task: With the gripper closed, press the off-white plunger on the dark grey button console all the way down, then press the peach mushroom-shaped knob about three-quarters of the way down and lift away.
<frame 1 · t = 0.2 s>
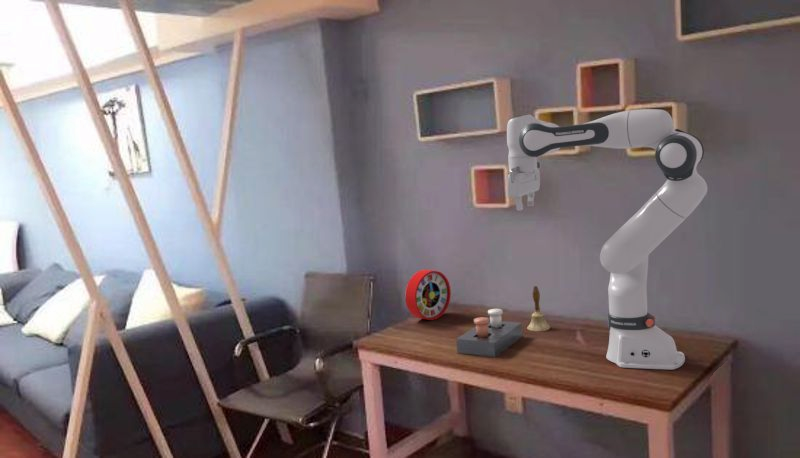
hand: (525, 208, 210), 47 cm above the table, tool pointing down, fingers open, 8 cm apart
button console: (490, 344, 224), on the table
peach mushroom-shaped knob: (482, 327, 219), point 8 cm above the table, slide at 0.0 cm
hand bell: (538, 328, 237), on the table
toy clock: (430, 318, 264), on the table
white plunger: (495, 318, 228), point 8 cm above the table, slide at 0.0 cm
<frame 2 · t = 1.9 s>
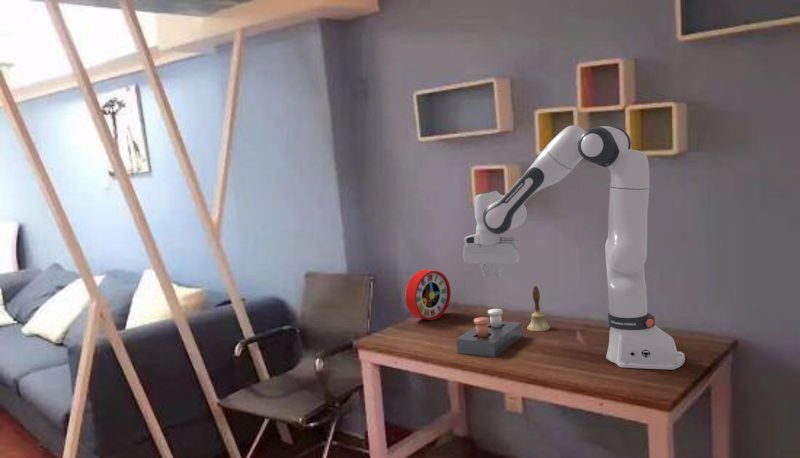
hand: (492, 276, 225), 23 cm above the table, tool pointing down, fingers open, 3 cm apart
nothing on the table moved.
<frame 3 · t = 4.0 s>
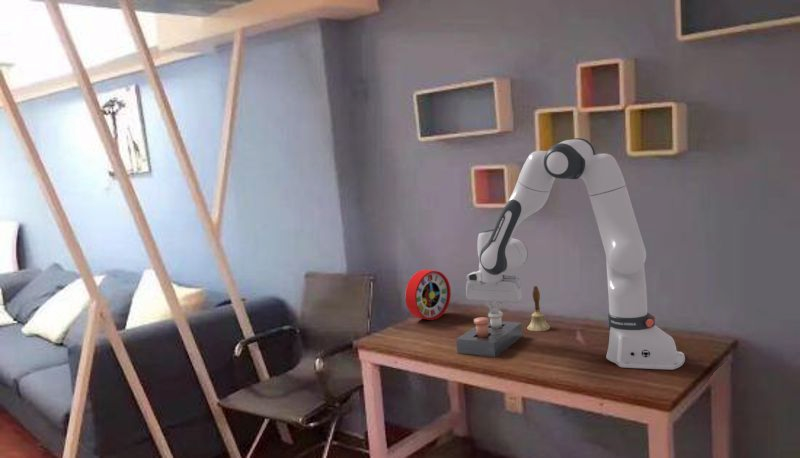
hand: (494, 312, 227), 10 cm above the table, tool pointing down, fingers closed, pressing on white plunger
white plunger: (496, 320, 228), point 7 cm above the table, slide at 0.9 cm, touching gripper
everything else where it was.
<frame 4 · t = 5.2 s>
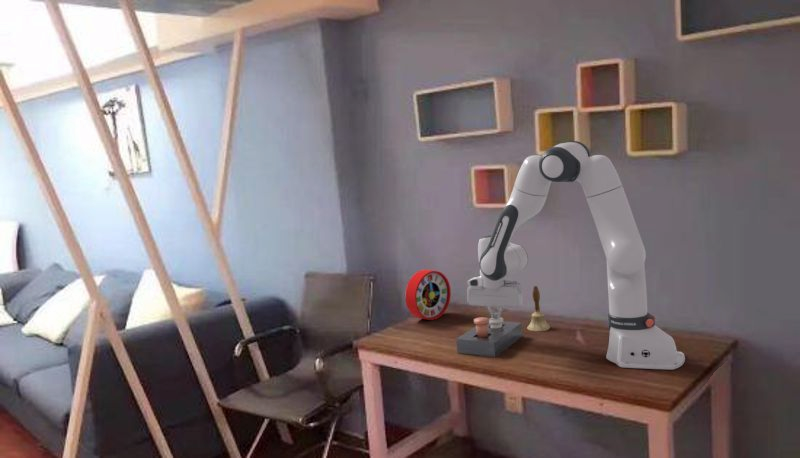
hand: (496, 318, 228), 8 cm above the table, tool pointing down, fingers closed
white plunger: (496, 327, 228), point 5 cm above the table, slide at 3.1 cm
everything else where it was.
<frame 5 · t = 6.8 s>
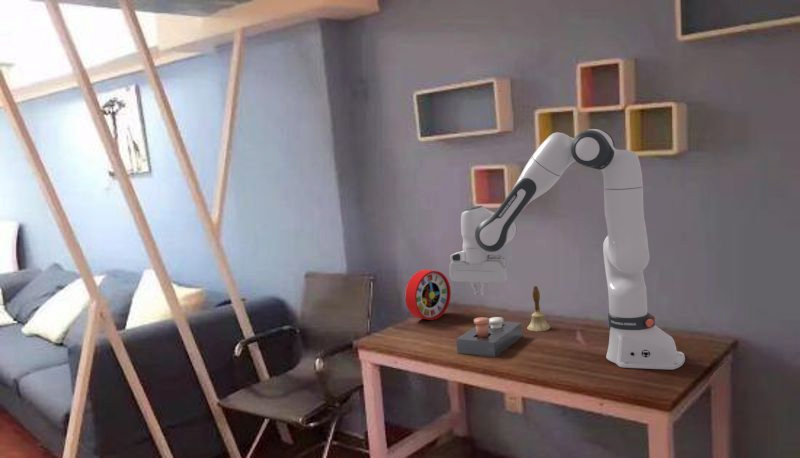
hand: (479, 294, 217), 19 cm above the table, tool pointing down, fingers closed
nothing on the table moved.
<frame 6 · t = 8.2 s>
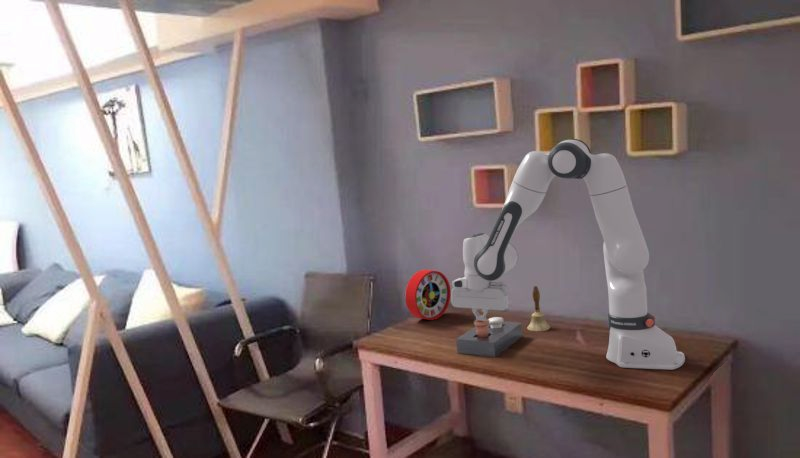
hand: (481, 321, 218), 10 cm above the table, tool pointing down, fingers closed, pressing on peach mushroom-shaped knob
peach mushroom-shaped knob: (482, 329, 219), point 7 cm above the table, slide at 0.6 cm, touching gripper
everything else where it was.
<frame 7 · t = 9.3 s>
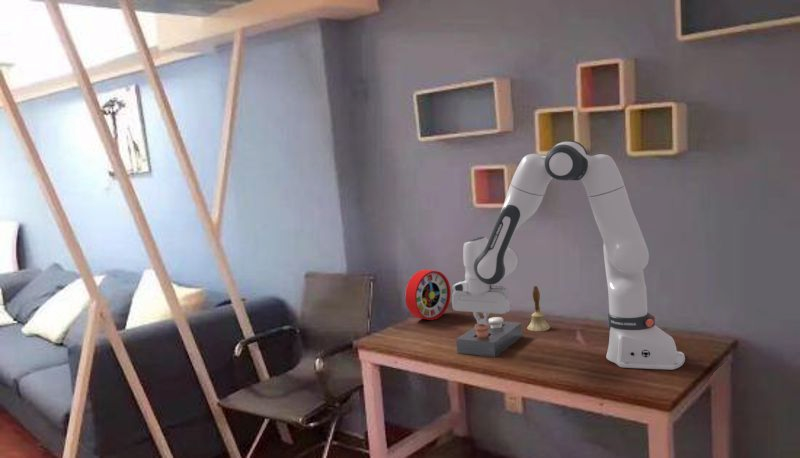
hand: (482, 324, 218), 9 cm above the table, tool pointing down, fingers closed
peach mushroom-shaped knob: (482, 333, 219), point 6 cm above the table, slide at 2.1 cm
everything else where it was.
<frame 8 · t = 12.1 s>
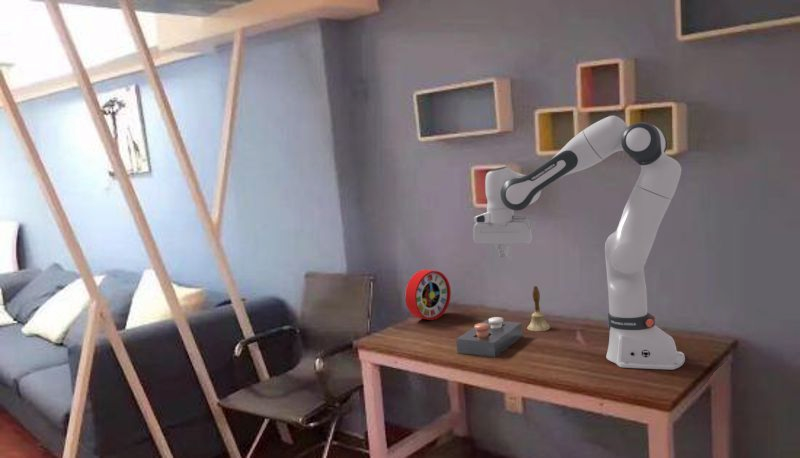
hand: (503, 256, 217), 31 cm above the table, tool pointing down, fingers closed
nothing on the table moved.
at the end: white plunger slide at 3.1 cm; peach mushroom-shaped knob slide at 2.1 cm; hand bell moved 0.3 cm from its start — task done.
